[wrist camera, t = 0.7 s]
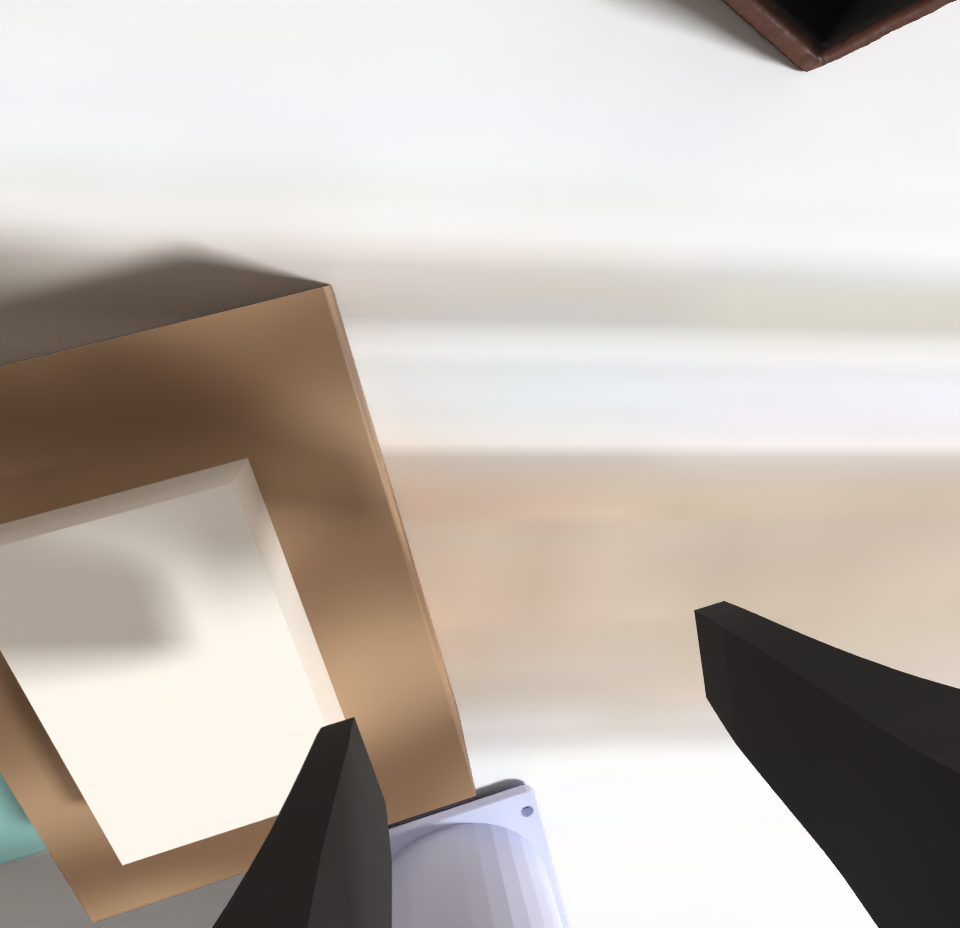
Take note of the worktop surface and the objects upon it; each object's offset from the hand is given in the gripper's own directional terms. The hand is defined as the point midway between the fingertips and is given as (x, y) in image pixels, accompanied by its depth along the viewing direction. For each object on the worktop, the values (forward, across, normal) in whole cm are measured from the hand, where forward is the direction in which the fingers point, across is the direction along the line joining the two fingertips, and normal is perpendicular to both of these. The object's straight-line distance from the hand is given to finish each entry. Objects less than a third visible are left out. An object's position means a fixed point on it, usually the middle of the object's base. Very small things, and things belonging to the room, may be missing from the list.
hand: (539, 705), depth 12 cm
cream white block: (+6, +8, 0) cm, 10 cm away
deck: (+10, +8, 0) cm, 13 cm away
